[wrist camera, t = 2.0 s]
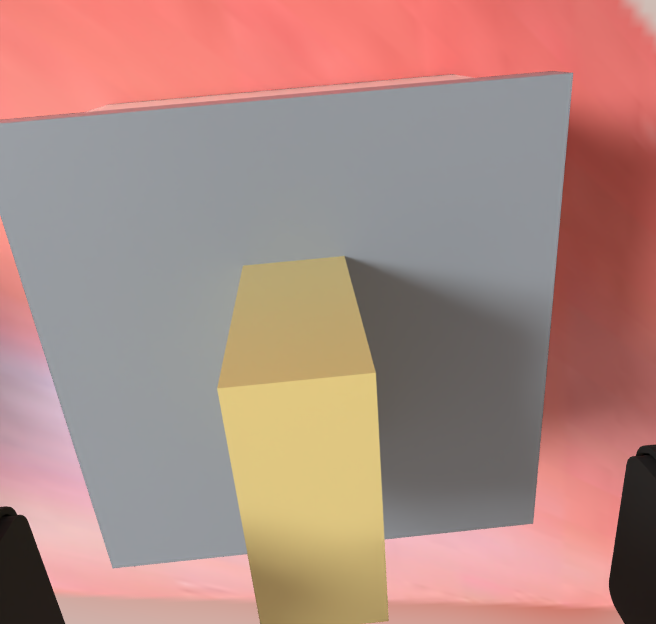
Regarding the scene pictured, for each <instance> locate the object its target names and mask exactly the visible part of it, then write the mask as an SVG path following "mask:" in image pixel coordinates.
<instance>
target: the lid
mask: <svg viewBox="0 0 656 624" xmlns="http://www.w3.org/2000/svg"><path fill="white" fill-rule="evenodd" d="M572 79H573V73H568V72H556V71H548V72H536V73H525V74H514V75H502V76H491V77H479V78H468V79H457V80H445V81H434V82H423V83H411V84H400V85H389V86H377V87H366V88H354V89H343V90H332V91H320V92H309V93H298V94H286V95H275V96H264V97H252V98H241V99H229V100H218V101H207V102H195V103H184V104H173V105H161V106H150V107H139V108H127V109H116V110H104V111H93V112H82V113H70V114H59V115H48V116H36V117H25V118H14V119H2V120H0V216H1V219H2V222H3V225H4V228H5V231H6V234H7V238H8V241H9V244H10V247H11V250H12V253H13V256H14V260H15V263H16V266H17V269H18V272H19V275H20V278H21V282H22V285H23V288H24V291H25V294H26V297H27V300H28V304H29V307H30V310H31V313H32V316H33V319H34V322H35V326H36V329H37V332H38V335H39V338H40V341H41V344H42V348H43V351H44V354H45V357H46V360H47V363H48V366H49V370H50V373H51V376H52V379H53V382H54V385H55V388H56V392H57V395H58V398H59V401H60V404H61V407H62V410H63V414H64V417H65V420H66V423H67V426H68V429H69V432H70V436H71V439H72V442H73V445H74V448H75V451H76V454H77V458H78V461H79V464H80V467H81V470H82V473H83V476H84V480H85V483H86V486H87V489H88V492H89V495H90V498H91V502H92V505H93V508H94V511H95V514H96V517H97V520H98V524H99V527H100V530H101V533H102V536H103V539H104V542H105V546H106V549H107V552H108V555H109V558H110V561H111V564H112V568H120V567H130V566H139V565H149V564H158V563H167V562H177V561H186V560H196V559H205V558H214V557H224V556H233V555H242V554H248V559H249V565H250V570H251V576H252V581H253V587H254V592H255V597H256V603H257V608H258V614H259V619H260V624H366V623H375V622H384V621H388V600H387V581H386V561H385V541H384V539H393V538H402V537H411V536H421V535H430V534H440V533H449V532H458V531H468V530H477V529H487V528H496V527H505V526H515V525H524V524H533V518H534V507H535V496H536V485H537V473H538V462H539V451H540V440H541V428H542V417H543V406H544V394H545V383H546V372H547V361H548V349H549V338H550V327H551V316H552V304H553V293H554V282H555V271H556V259H557V248H558V237H559V226H560V214H561V203H562V192H563V181H564V169H565V158H566V147H567V136H568V124H569V113H570V102H571V91H572Z"/></svg>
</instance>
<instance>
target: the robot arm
mask: <svg viewBox="0 0 656 624" xmlns="http://www.w3.org/2000/svg"><path fill="white" fill-rule="evenodd" d="M609 590H610V595H611V598H612V601H613V604H614V606H615V608H616V610H617V611H618V613H619V615H620V616H621V618H622V620H623V622H624V623H625V624H656V445H646V446H642V447H640V448H639V449H638V451H637V454H636V456H633V457H630V458H629V459H628V461H627V465H626V472H625V478H624V485H623V492H622V498H621V505H620V512H619V518H618V525H617V532H616V538H615V545H614V552H613V558H612V565H611V572H610V578H609ZM0 624H65V622H64V619H63V616H62V614H61V611H60V608H59V605H58V603H57V600H56V597H55V594H54V592H53V589H52V586H51V583H50V581H49V578H48V575H47V572H46V570H45V567H44V564H43V561H42V559H41V556H40V553H39V550H38V548H37V545H36V542H35V539H34V537H33V534H32V531H31V528H30V526H29V523H28V521H27V519H26V517H24V516H23V515H17V513H16V512H15V510H14V509H13V508H11V507H0Z"/></svg>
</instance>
